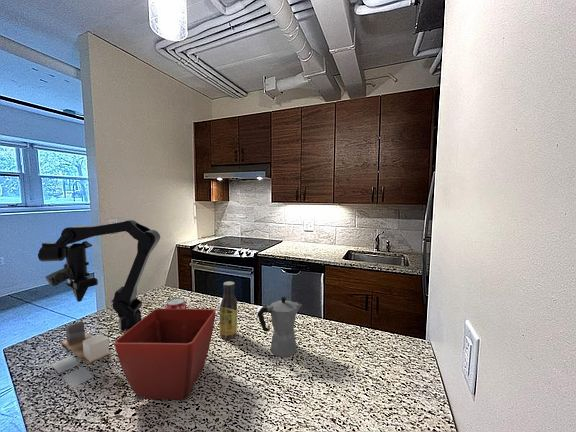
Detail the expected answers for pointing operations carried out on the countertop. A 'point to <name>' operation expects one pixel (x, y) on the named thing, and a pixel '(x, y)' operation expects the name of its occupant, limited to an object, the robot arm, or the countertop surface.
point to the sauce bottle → (228, 312)
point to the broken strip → (75, 376)
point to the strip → (77, 340)
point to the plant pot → (166, 352)
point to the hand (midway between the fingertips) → (79, 301)
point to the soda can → (176, 303)
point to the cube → (95, 347)
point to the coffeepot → (281, 326)
